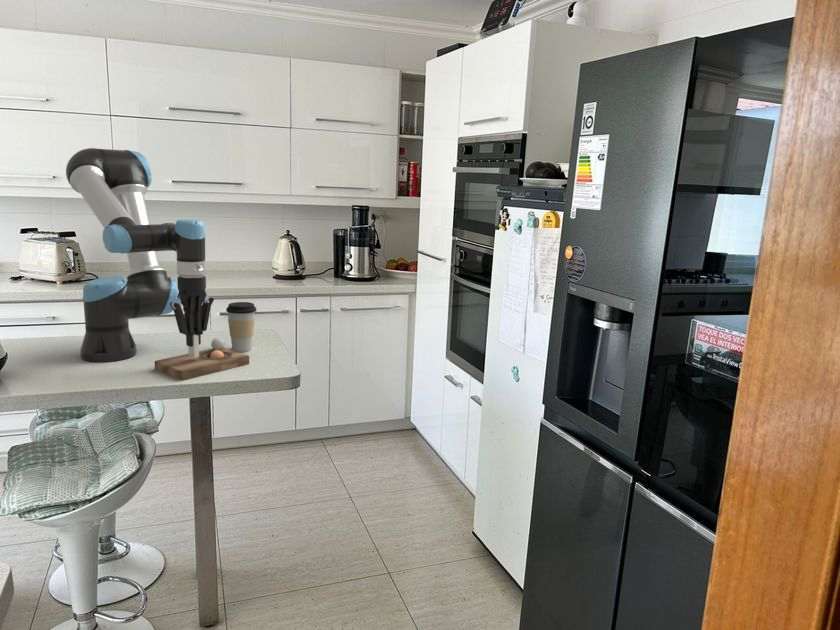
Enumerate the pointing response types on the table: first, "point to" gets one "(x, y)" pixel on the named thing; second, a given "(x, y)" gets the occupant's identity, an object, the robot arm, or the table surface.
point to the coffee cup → (241, 325)
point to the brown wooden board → (200, 363)
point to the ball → (216, 354)
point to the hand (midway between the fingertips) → (194, 356)
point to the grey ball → (218, 344)
